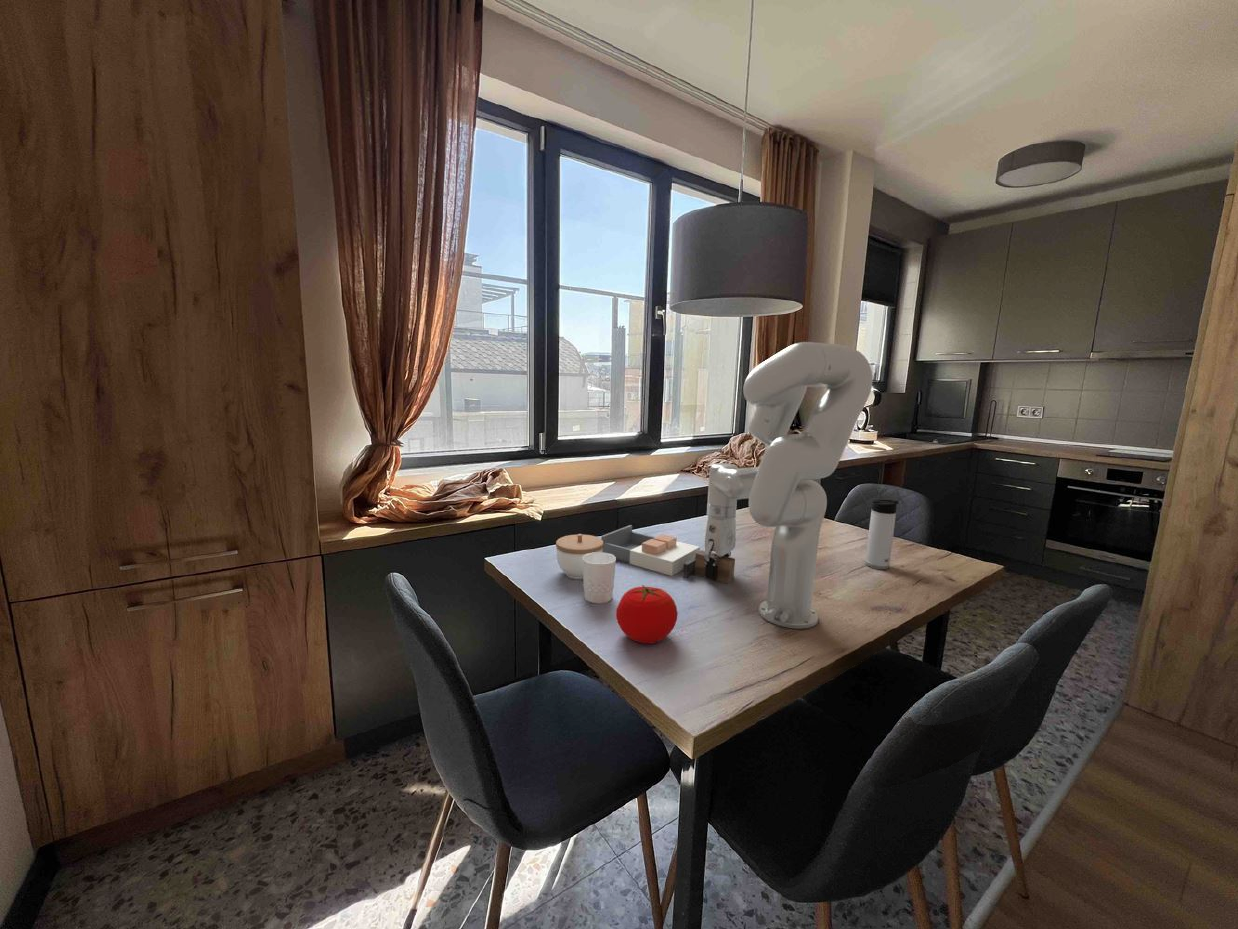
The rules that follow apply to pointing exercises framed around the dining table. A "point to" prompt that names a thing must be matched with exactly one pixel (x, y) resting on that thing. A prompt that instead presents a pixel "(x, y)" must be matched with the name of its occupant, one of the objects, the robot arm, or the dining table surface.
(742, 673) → the dining table surface
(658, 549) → the tile
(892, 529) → the travel mug
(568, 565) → the lidded bowl
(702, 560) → the scraper
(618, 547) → the tray
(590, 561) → the white cup
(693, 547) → the board
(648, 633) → the tomato
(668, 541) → the tile
